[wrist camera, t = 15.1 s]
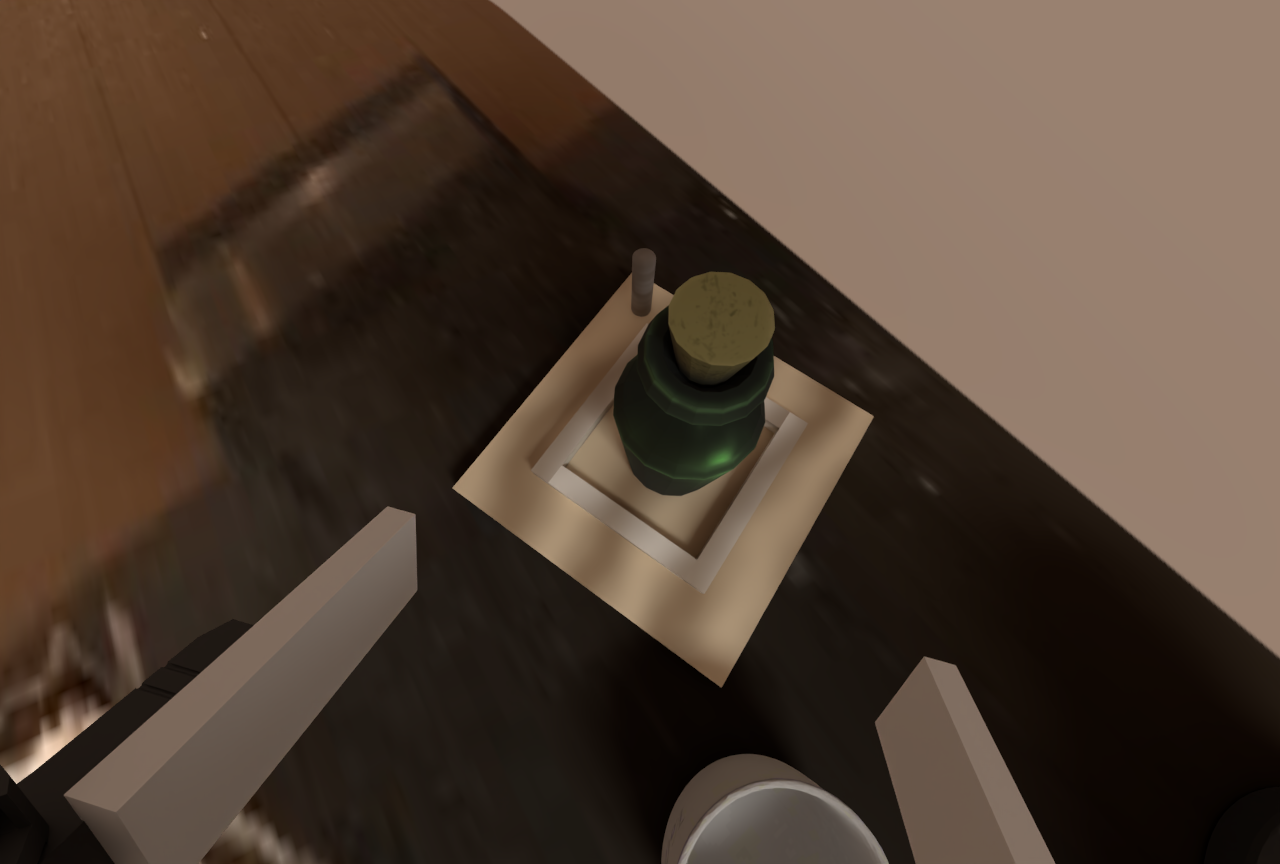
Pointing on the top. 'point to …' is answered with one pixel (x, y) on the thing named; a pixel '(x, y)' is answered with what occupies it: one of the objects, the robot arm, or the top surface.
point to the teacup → (763, 819)
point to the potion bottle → (697, 384)
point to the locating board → (650, 522)
